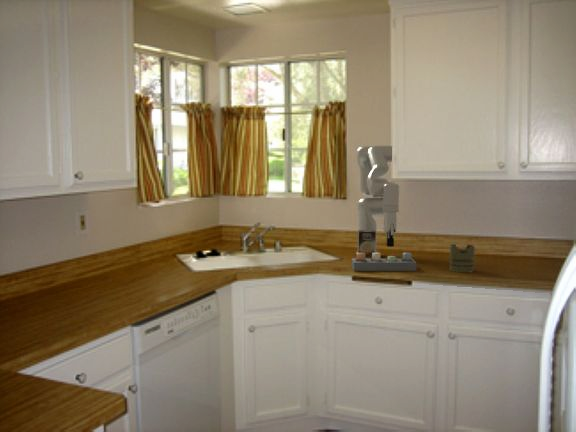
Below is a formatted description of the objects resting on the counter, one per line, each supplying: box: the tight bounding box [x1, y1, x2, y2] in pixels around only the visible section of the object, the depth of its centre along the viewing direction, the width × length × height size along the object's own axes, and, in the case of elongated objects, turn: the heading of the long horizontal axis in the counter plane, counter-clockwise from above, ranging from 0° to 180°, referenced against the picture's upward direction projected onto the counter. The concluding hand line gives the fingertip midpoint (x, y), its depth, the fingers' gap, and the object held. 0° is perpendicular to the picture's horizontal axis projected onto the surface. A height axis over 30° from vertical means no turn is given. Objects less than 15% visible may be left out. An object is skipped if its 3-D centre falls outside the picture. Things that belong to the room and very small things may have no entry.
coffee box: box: [357, 229, 377, 258], centre depth 324 cm, size 9×6×16 cm
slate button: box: [402, 252, 412, 261], centre depth 305 cm, size 4×4×4 cm
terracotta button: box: [356, 253, 365, 261], centre depth 305 cm, size 4×4×4 cm
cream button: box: [372, 252, 382, 261], centre depth 305 cm, size 4×4×4 cm
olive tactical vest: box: [449, 243, 476, 273], centre depth 299 cm, size 11×12×11 cm
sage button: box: [387, 255, 397, 261], centre depth 305 cm, size 4×4×4 cm
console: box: [351, 257, 418, 272], centre depth 305 cm, size 12×30×4 cm, turn 89°
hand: (390, 246), depth 304 cm, fingers closed
